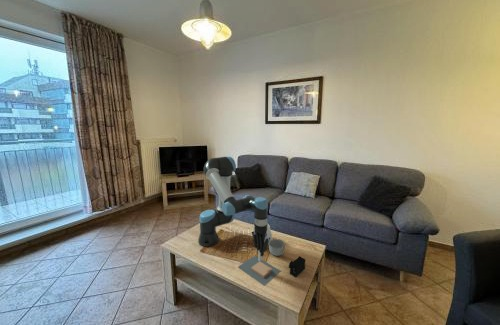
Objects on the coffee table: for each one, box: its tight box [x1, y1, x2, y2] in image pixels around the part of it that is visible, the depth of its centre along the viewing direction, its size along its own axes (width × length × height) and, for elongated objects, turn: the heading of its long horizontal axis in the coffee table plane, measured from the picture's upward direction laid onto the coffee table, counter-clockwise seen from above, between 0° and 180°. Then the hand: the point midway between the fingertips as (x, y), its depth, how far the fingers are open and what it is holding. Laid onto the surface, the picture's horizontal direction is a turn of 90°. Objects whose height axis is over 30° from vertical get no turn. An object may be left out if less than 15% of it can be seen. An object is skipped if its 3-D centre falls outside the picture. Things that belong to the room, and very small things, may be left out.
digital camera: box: [288, 256, 306, 278], centre depth 127 cm, size 10×5×7 cm, turn 135°
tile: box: [251, 262, 272, 278], centre depth 127 cm, size 2×8×10 cm
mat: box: [237, 255, 282, 286], centre depth 128 cm, size 22×16×1 cm
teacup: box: [268, 237, 285, 257], centre depth 145 cm, size 14×11×8 cm
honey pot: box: [264, 222, 273, 245], centre depth 159 cm, size 13×13×18 cm
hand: (260, 259), depth 126 cm, fingers closed
